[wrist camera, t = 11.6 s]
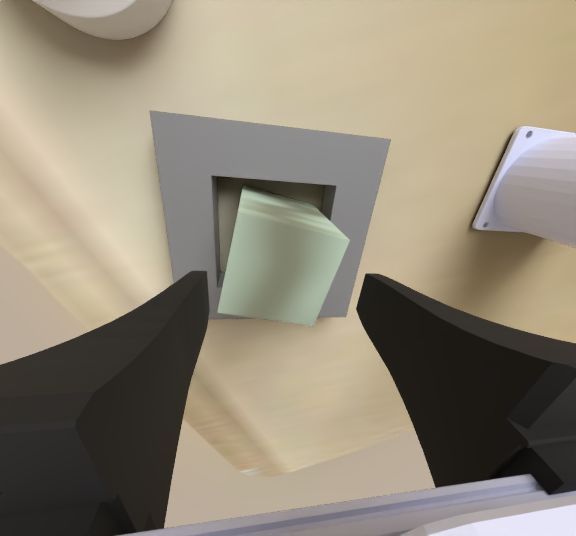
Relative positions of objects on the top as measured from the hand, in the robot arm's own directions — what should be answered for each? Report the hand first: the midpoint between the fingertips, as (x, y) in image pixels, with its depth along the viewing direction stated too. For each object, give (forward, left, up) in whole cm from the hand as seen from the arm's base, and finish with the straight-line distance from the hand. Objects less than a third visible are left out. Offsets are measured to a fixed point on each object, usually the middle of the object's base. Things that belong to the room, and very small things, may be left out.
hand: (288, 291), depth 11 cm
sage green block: (0, 0, -9) cm, 9 cm away
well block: (0, 0, -9) cm, 9 cm away
